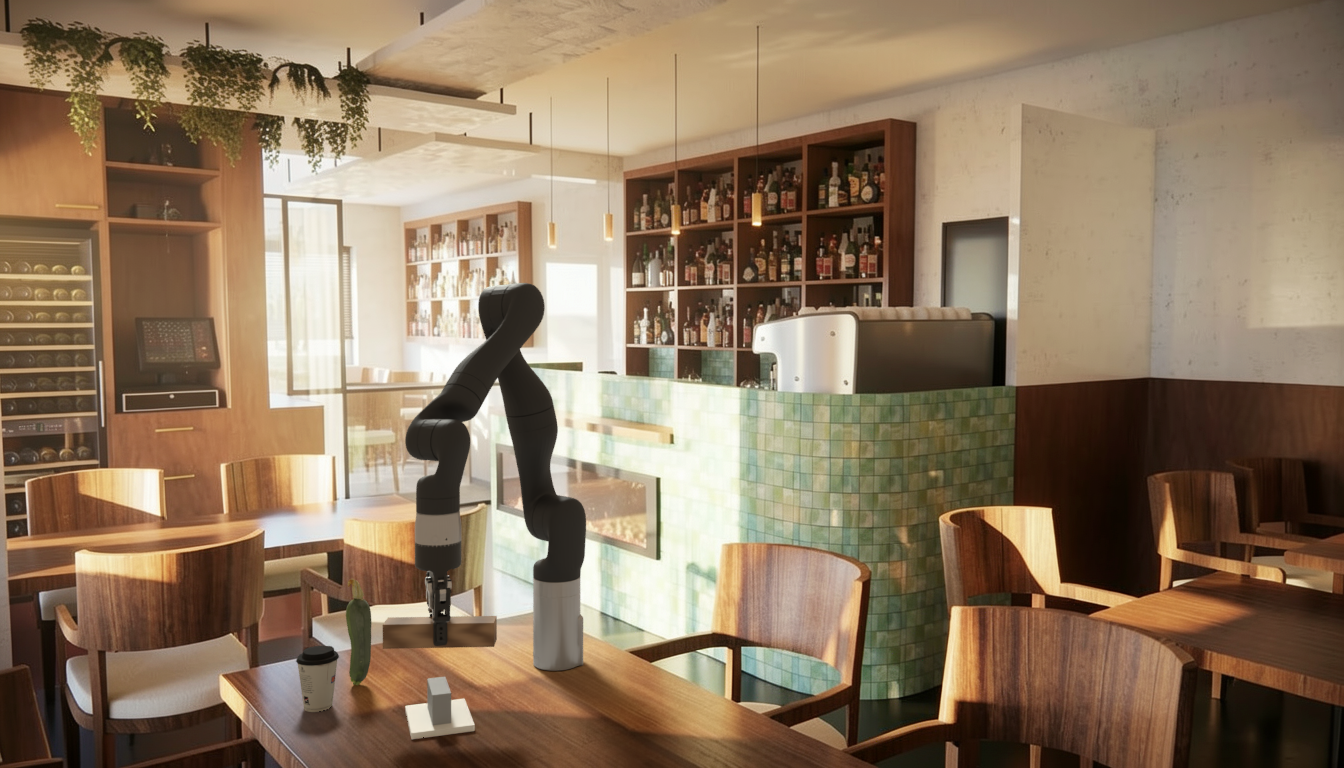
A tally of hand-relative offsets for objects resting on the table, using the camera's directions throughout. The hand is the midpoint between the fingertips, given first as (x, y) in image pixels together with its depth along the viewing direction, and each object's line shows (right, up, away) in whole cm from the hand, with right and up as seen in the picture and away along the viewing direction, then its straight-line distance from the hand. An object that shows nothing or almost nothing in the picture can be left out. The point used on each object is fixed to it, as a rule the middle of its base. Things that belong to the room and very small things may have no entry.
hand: (438, 639), depth 158 cm
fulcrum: (0, -14, +1) cm, 14 cm away
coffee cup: (-22, -14, +6) cm, 27 cm away
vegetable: (-19, -13, +16) cm, 28 cm away
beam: (0, -1, 0) cm, 1 cm away
